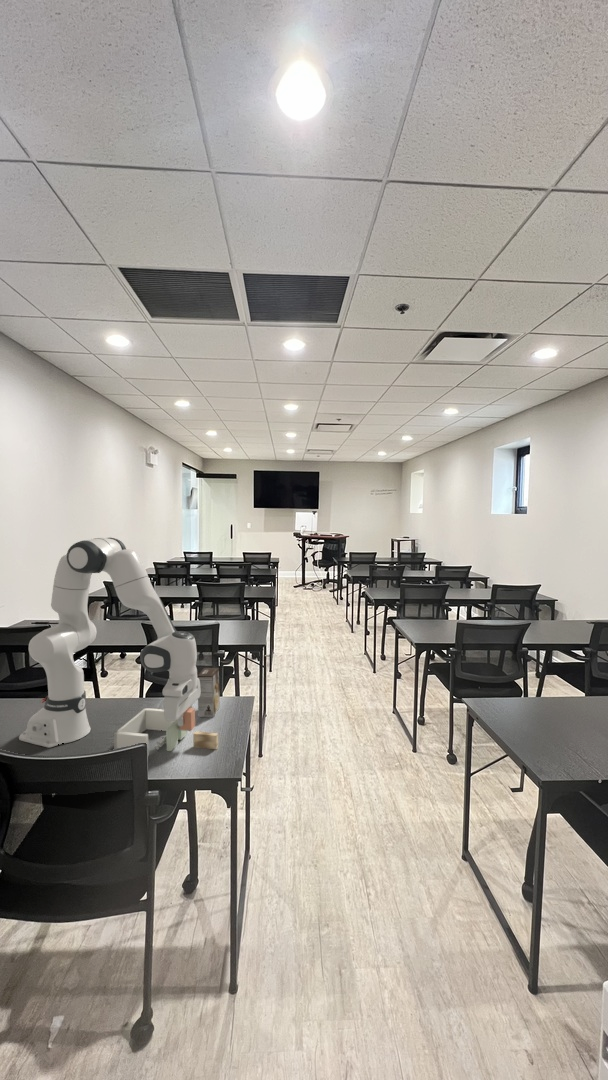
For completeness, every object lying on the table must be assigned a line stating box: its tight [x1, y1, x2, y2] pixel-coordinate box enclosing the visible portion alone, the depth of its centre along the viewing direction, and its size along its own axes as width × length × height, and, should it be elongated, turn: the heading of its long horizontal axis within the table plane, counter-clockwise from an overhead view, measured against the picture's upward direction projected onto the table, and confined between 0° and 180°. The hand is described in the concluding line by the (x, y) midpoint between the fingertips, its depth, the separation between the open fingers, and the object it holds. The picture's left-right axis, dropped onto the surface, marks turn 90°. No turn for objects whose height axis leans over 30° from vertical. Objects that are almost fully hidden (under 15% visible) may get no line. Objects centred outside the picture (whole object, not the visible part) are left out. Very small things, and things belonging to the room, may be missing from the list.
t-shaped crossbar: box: [165, 707, 196, 752], centre depth 149 cm, size 6×12×11 cm, turn 170°
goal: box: [113, 707, 174, 757], centre depth 152 cm, size 11×19×7 cm, turn 170°
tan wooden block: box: [192, 731, 219, 750], centre depth 148 cm, size 8×2×5 cm, turn 80°
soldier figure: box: [153, 735, 167, 751], centre depth 152 cm, size 8×5×12 cm
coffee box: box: [197, 667, 221, 718], centre depth 174 cm, size 9×6×16 cm
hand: (184, 722), depth 149 cm, fingers closed on t-shaped crossbar, 3 cm apart
